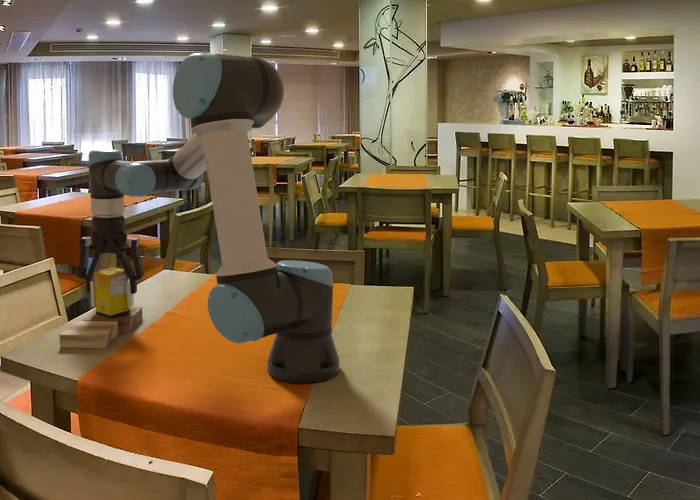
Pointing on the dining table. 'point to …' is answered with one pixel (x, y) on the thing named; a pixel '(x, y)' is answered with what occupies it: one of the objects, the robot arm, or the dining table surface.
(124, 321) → the walnut stand
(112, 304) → the supplement box
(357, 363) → the dining table surface
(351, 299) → the dining table surface
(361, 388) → the dining table surface
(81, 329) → the oak stand
